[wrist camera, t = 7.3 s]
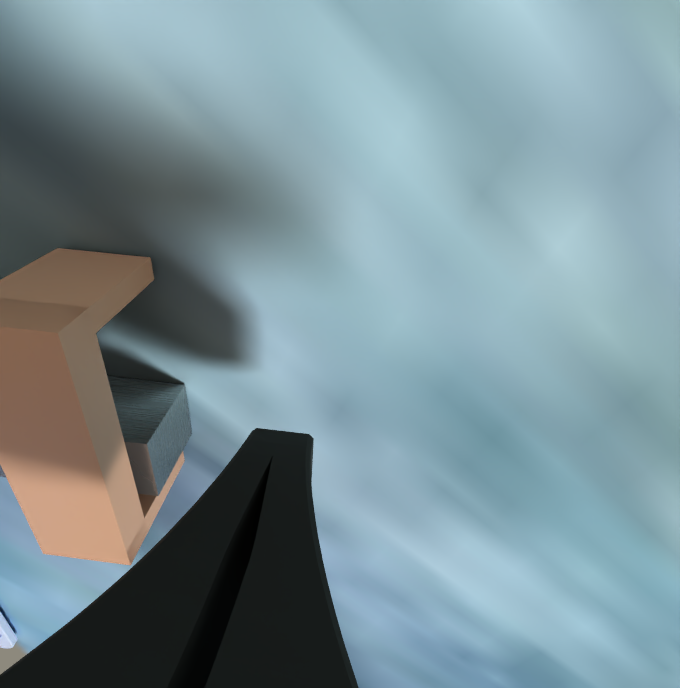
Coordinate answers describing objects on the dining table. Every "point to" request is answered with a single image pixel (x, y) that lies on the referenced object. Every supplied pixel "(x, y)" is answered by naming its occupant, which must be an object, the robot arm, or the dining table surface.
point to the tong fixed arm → (150, 428)
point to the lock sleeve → (70, 406)
